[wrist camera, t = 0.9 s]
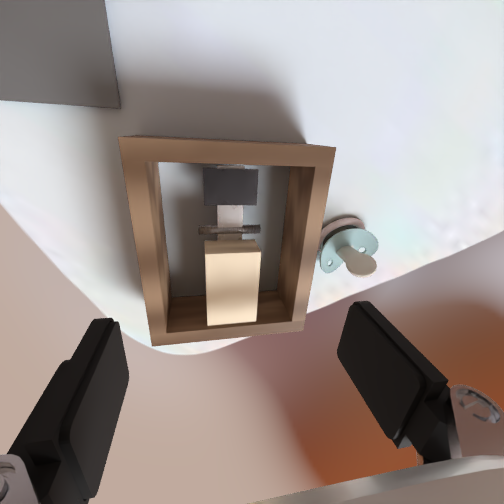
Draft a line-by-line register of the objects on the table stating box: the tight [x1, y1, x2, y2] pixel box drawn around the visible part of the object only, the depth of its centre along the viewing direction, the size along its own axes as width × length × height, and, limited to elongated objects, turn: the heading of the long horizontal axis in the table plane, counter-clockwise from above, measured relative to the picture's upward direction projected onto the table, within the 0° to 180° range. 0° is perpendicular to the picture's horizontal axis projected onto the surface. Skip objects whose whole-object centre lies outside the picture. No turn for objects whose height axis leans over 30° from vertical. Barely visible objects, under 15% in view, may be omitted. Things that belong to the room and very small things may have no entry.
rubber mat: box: [0, 0, 121, 108], centre depth 18 cm, size 10×10×1 cm
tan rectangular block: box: [204, 239, 261, 326], centre depth 25 cm, size 8×5×3 cm, turn 177°
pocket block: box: [118, 135, 336, 346], centre depth 25 cm, size 19×16×6 cm
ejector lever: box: [199, 165, 260, 240], centre depth 25 cm, size 15×6×1 cm, turn 177°
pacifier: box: [318, 218, 378, 278], centre depth 28 cm, size 7×6×6 cm
